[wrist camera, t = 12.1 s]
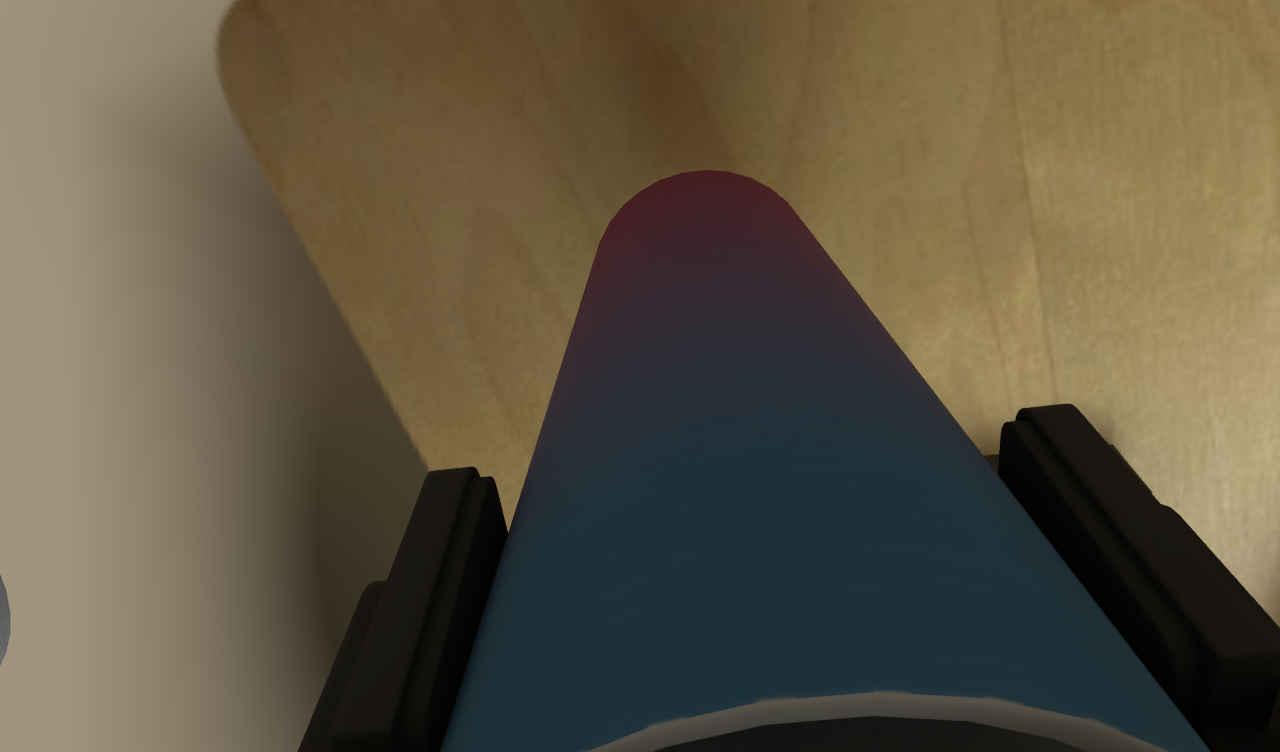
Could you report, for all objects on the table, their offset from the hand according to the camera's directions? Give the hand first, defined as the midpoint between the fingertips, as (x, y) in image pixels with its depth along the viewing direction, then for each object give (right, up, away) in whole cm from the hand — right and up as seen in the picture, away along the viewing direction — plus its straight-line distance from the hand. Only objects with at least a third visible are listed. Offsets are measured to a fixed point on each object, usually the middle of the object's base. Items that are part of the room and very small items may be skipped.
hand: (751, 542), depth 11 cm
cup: (0, +4, +9) cm, 10 cm away
